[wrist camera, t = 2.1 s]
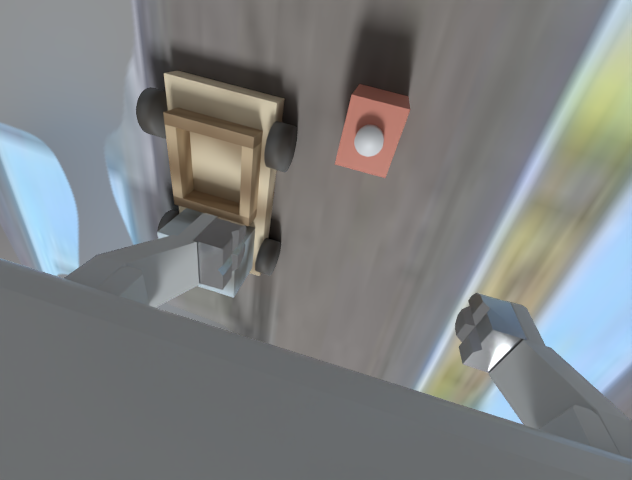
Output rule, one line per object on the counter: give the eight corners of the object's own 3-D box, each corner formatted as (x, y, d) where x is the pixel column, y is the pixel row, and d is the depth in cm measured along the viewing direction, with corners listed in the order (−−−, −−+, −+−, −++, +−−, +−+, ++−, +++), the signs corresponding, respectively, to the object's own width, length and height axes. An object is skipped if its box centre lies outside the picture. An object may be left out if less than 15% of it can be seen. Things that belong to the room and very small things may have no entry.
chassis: (161, 66, 26) (97, 75, 21) (302, 103, 25) (274, 123, 20) (181, 239, 38) (144, 275, 33) (277, 269, 37) (256, 310, 32)
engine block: (359, 83, 24) (350, 96, 19) (408, 96, 23) (410, 112, 19) (344, 144, 27) (332, 168, 22) (387, 155, 26) (385, 182, 22)
